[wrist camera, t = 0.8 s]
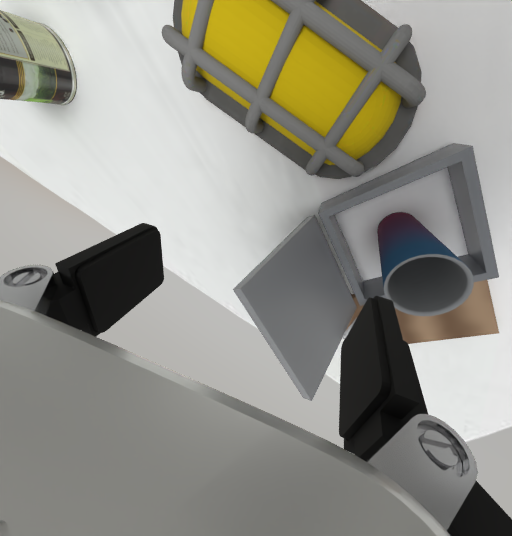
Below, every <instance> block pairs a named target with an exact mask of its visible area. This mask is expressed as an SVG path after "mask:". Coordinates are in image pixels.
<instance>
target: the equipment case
mask: <svg viewBox="0 0 512 536" xmlns="http://www.w3.org/2000/svg"><path fill="white" fill-rule="evenodd" d="M446 167H448V171H449V175H450V179H451V183H452V187H453V191H454V195H455V199H456V204H457V208H458V212H459V216H460V220H461V224H462V228H463V232H464V237H465V241H466V245H467V249H468V253H469V255H465V256H461V257H458V258H459V259H460V260H461V261H462V262H463V263H464V264H465V265H466V266H468V268H469V269H470V271H471V272H472V275H473V278H474V282H478V281H483V280H488V279H493V278H498V277H499V275H498V270H497V265H496V260H495V255H494V250H493V245H492V240H491V235H490V230H489V225H488V220H487V215H486V210H485V206H484V201H483V196H482V191H481V186H480V181H479V176H478V171H477V166H476V161H475V156H474V151H473V146H469V145H462V144H455V143H453V144H451V145H449V146H446V147H444V148H442V149H440V150H438V151H435V152H433V153H431V154H429V155H427V156H424V157H422V158H420V159H418V160H416V161H413V162H411V163H409V164H407V165H405V166H402V167H400V168H398V169H396V170H394V171H391V172H389V173H387V174H385V175H383V176H380V177H378V178H376V179H374V180H372V181H369V182H367V183H365V184H363V185H361V186H358V187H356V188H354V189H352V190H350V191H347V192H345V193H343V194H341V195H339V196H336V197H334V198H332V199H330V200H328V201H325V202H323V203H322V204H321V207H320V210H319V216H320V218H321V220H322V222H323V224H324V227H325V229H326V231H327V233H328V236H329V238H330V240H331V242H332V245H333V247H334V249H335V251H336V253H337V256H338V258H339V260H340V262H341V265H342V267H343V269H344V271H345V273H346V276H347V278H348V280H349V282H350V285H351V287H352V289H353V291H354V293H355V296H356V298H357V300H358V302H359V305H360V306H362V305H364V304H365V303H366V301H367V299H368V298H369V297H370V298H374V297H375V296H380V297H383V298H386V297H385V294H384V288H383V279H382V277H379V278H375V279H371V280H367V281H362V278H361V276H360V274H359V271H358V269H357V267H356V264H355V262H354V260H353V257H352V255H351V253H350V250H349V248H348V246H347V243H346V241H345V239H344V236H343V234H342V232H341V229H340V227H339V225H338V222H337V220H336V218H335V215H334V214H336V213H339V212H341V211H343V210H346V209H348V208H351V207H353V206H355V205H358V204H360V203H363V202H365V201H367V200H370V199H372V198H375V197H377V196H379V195H382V194H384V193H387V192H389V191H391V190H394V189H396V188H399V187H401V186H403V185H406V184H408V183H410V182H413V181H415V180H418V179H420V178H422V177H425V176H427V175H430V174H432V173H434V172H437V171H439V170H442V169H444V168H446ZM356 319H357V318H356ZM356 319H355V320H356ZM355 320H354V321H353V323H352V324H351V325H350V326H349V328H348V329H347V330H346V331H345V333H344V334H343V338H344V339H345V338H346V336H347V335H348V333H349V331H350V329H351V328H352V326H353V324H354V322H355Z"/></svg>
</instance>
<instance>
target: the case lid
mask: <svg viewBox="0 0 512 536" xmlns="http://www.w3.org/2000/svg"><path fill="white" fill-rule="evenodd" d="M233 290H234V292H235V293H236V295H237V296H238V298H239V300H240V301H241V303H242V304H243V306H244V307H245V309H246V310H247V312H248V313H249V315H250V316H251V318H252V320H253V321H254V323H255V324H256V326H257V327H258V329H259V330H260V332H261V333H262V335H263V337H264V338H265V340H266V341H267V343H268V344H269V346H270V347H271V349H272V350H273V352H274V354H275V355H276V357H277V358H278V359H279V361H280V363H281V364H282V366H283V367H284V369H285V371H286V372H287V374H288V375H289V377H290V378H291V380H292V381H293V383H294V384H295V386H296V387H297V389H298V391H299V392H300V394H301V395H302V397H303V398H305V399H308V400H311V401H312V399H313V397H314V395H315V393H316V391H317V389H318V387H319V385H320V382H321V381H322V379H323V376H324V374H325V372H326V370H327V368H328V366H329V364H330V362H331V360H332V358H333V356H334V354H335V352H336V350H337V347H338V345H339V343H340V341H341V339H342V337H343V334H344V333H345V331H346V329H347V327H348V325H349V323H350V321H351V318H352V316H353V314H354V312H355V310H356V308H357V307H356V305H355V302H354V300H353V298H352V296H351V294H350V291H349V289H348V287H347V285H346V283H345V280H344V278H343V276H342V274H341V272H340V270H339V267H338V265H337V263H336V261H335V259H334V256H333V254H332V252H331V250H330V248H329V245H328V243H327V241H326V239H325V237H324V234H323V232H322V230H321V228H320V226H319V224H318V221H317V219H316V217H315V215H313V216H310V217H307V218H306V219H305V220H304V221H303V222H302V223H301V224H300V225H299V226H298V227H297V228H296V229H295V230H294V231H293V232H292V233H291V234H290V235H289V236H288V237H287V238H286V239H285V240H283V241H282V242H281V243H280V244H279V245H278V246H277V247H276V248H275V249H274V250H273V251H272V252H271V253H270V254H269V255H268V256H267V257H266V258H265V259H264V260H263V261H262V262H261V263H260V264H259V265H258V266H257V267H256V268H255V269H254V270H252V271H251V272H250V273H249V274H248V275H247V276H246V277H245V278H244V279H243V280H242V281H241V282H240V283H239V284H238V285H237V286H236V287H235V288H234V289H233Z"/></svg>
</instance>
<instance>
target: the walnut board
mask: <svg viewBox="0 0 512 536" xmlns="http://www.w3.org/2000/svg"><path fill="white" fill-rule="evenodd" d="M351 296H352V298H353V300H354V302H355V305H356V307H357V308H356V310H355V312H354V314H353V316H352V318H351V321H350V323H349V325H348V327H347V329H348V328H349V326H350V325H351V324H352V323H353V321H354V320H355V319H356V318H357V317H358V315H359V313H360V312H361V310H362V308H363V306H364V305H362V306H360V305H359V302H358V300H357V298H356V296H355V294H352V295H351ZM395 311H396V315H397V318H398V322H399V326H400V330H401V334H402V337H403V340H404V341H406V342H407V343H408V344H411V343H419V342H428V341H436V340H445V339H453V338H462V337H470V336H479V335H487V334H496V333H499V331H498V326H497V322H496V317H495V313H494V308H493V304H492V299H491V295H490V290H489V286H488V281H487V280H483V281H478V282H474V286H473V289H472V292H471V294H470V296H469V297H468V299H467V300H466V301H465V302H464V303H463V304H461V305H460V306H458V307H457V308H455V309H453V310H451V311H449V312H446V313H443V314H440V315H435V316H414V315H410V314H406V313H404V312H401V311H399V310H398V309H396V308H395ZM347 329H346V330H347Z"/></svg>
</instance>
